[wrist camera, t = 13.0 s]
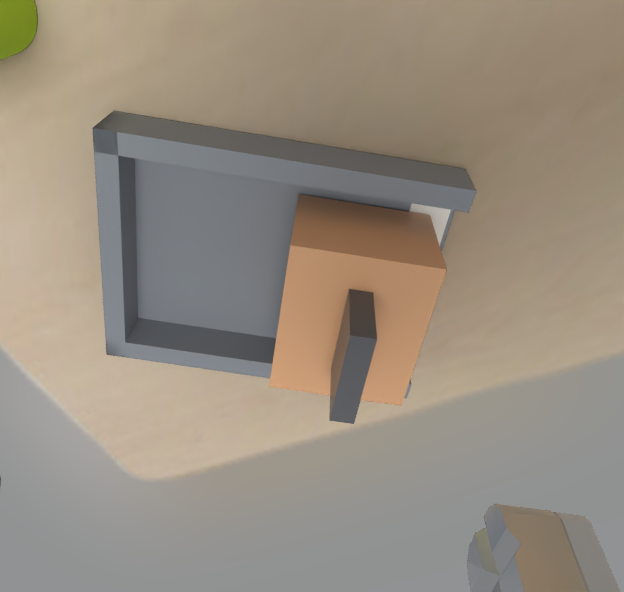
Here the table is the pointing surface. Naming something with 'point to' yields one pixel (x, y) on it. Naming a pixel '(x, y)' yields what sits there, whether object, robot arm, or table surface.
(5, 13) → the soap dispenser
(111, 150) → the bay
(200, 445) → the table surface
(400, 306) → the tan block with handle
